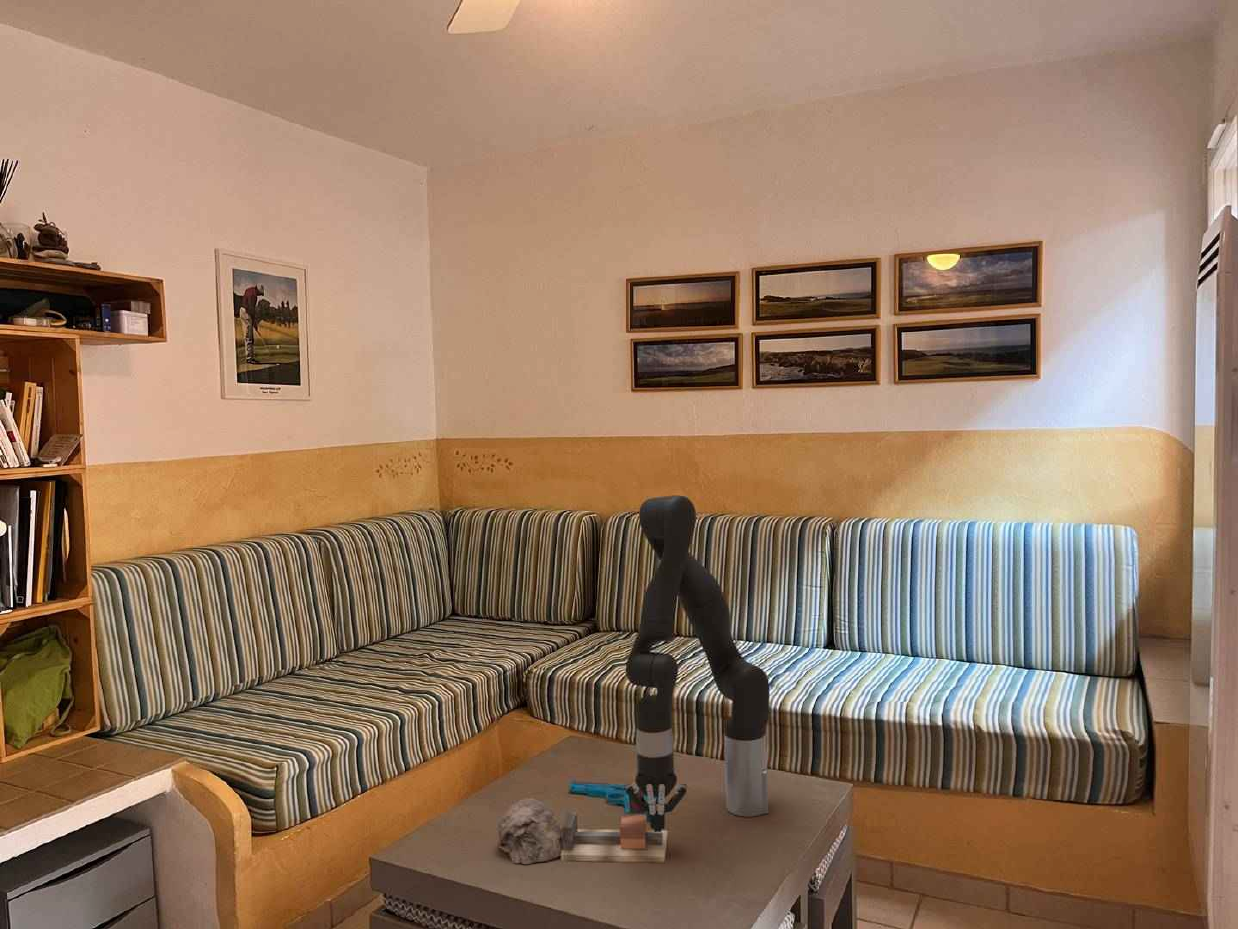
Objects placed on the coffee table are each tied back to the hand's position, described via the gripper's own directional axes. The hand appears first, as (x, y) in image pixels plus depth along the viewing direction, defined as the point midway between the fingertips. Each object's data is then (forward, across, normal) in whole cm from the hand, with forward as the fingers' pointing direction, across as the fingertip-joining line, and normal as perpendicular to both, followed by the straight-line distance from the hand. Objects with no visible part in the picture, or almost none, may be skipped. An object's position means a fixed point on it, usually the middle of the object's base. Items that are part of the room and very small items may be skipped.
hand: (657, 830), depth 194 cm
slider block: (+3, +5, 0) cm, 6 cm away
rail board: (+4, +9, 0) cm, 10 cm away
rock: (+4, +27, +1) cm, 27 cm away
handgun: (+5, +12, -21) cm, 24 cm away
